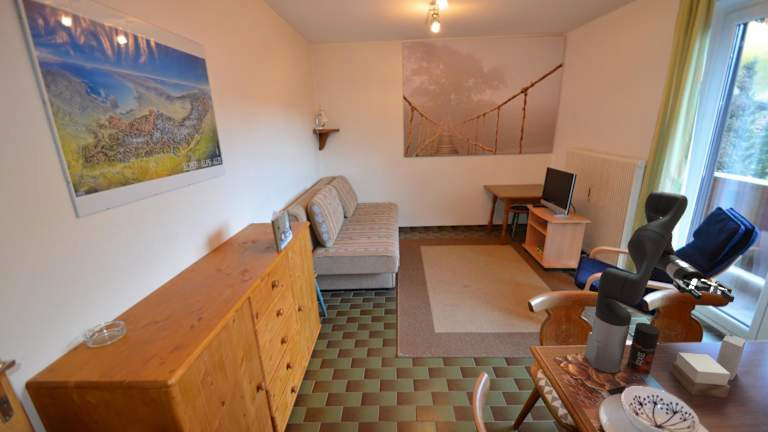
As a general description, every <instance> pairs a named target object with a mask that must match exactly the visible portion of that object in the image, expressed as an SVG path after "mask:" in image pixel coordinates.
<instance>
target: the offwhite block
mask: <svg viewBox="0 0 768 432" xmlns="http://www.w3.org/2000/svg"><path fill="white" fill-rule="evenodd" d="M675 360H676V361H675V362H676V364H677V365H678V366H679V367H680V368H681V369H682V370H683V371H684V372H685V373H686V374H687V375H688V376H689V377H690V378H691V379H692V380H693V381H694V382H695V383H705V384H717V385H727V384H728V382H729V381H730V380H729V377H730V373H729V372H728V371H726V370H725V369H724V368H723V367H722V366H721V365H719V364H718V363H717V360H715V359H714V358H712V357H711V356H710V355H709V354H708V353H707V354H705V353H704V354H703V353H691V352H678V353H677V356H676V359H675Z"/></svg>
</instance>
